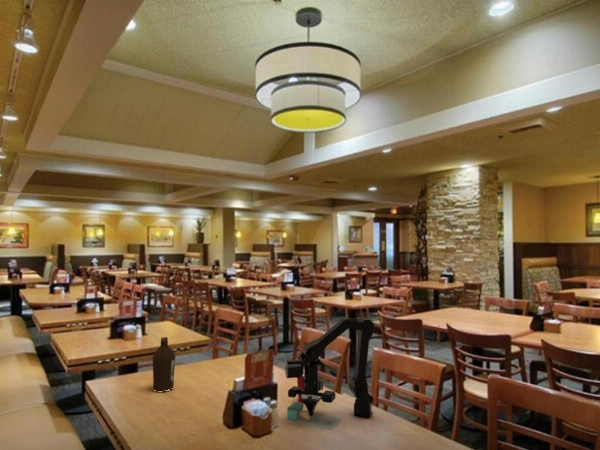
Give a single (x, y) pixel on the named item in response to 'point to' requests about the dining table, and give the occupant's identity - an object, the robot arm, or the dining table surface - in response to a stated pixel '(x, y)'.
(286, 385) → the dining table surface
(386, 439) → the dining table surface
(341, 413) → the dining table surface
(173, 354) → the olive oil
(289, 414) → the teal faceted block
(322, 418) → the mat
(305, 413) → the long wooden beam
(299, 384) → the paper cup
